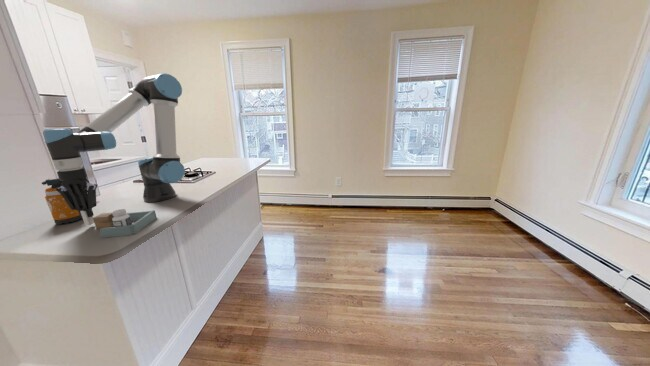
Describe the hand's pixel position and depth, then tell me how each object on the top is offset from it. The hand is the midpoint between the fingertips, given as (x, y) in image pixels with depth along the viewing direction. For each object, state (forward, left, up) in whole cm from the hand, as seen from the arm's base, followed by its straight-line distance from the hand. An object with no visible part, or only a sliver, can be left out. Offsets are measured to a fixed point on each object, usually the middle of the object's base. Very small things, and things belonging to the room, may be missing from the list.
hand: (90, 224), depth 96 cm
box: (+4, +18, -1) cm, 18 cm away
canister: (-11, -15, -2) cm, 18 cm away
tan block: (0, +6, -2) cm, 6 cm away
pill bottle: (+8, +18, -2) cm, 20 cm away
